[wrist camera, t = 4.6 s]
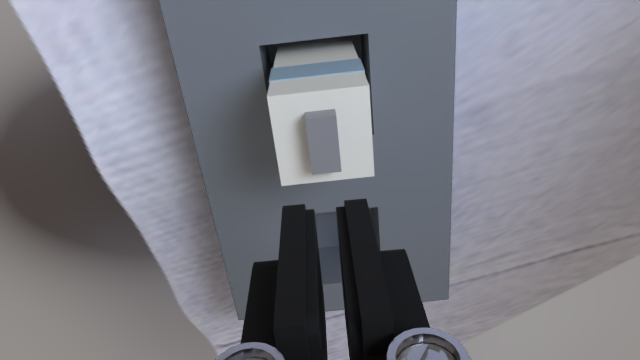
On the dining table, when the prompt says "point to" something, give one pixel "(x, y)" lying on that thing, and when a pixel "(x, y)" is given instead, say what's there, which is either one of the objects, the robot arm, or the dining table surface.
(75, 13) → the dining table surface
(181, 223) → the dining table surface
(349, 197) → the panel
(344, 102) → the plug
